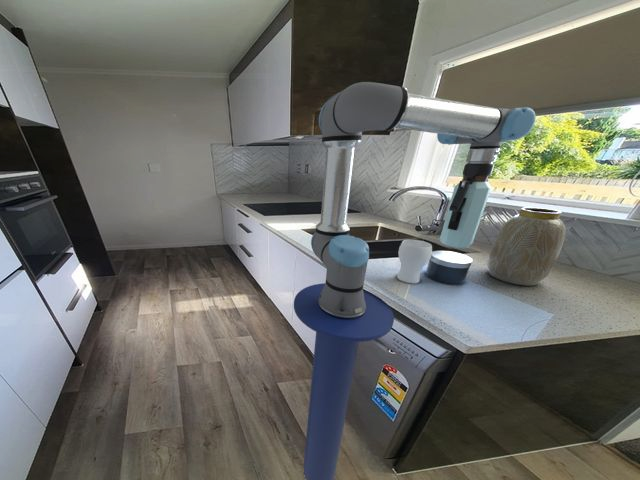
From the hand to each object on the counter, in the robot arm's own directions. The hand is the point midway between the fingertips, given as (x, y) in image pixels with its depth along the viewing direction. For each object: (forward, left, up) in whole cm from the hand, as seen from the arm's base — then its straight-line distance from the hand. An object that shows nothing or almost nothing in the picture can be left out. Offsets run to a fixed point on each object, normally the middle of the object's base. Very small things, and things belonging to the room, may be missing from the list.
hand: (459, 227), depth 90 cm
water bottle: (0, 0, -7) cm, 7 cm away
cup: (-6, -14, -21) cm, 26 cm away
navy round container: (0, 0, -21) cm, 21 cm away
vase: (+13, +22, -21) cm, 33 cm away
